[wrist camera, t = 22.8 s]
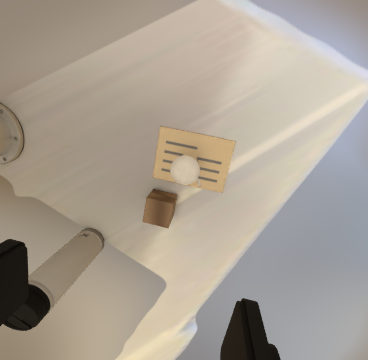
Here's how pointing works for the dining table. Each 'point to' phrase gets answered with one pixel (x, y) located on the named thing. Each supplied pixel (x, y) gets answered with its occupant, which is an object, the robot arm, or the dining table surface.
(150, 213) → the walnut block
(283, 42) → the dining table surface
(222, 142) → the letter
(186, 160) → the milkshake
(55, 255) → the travel mug
